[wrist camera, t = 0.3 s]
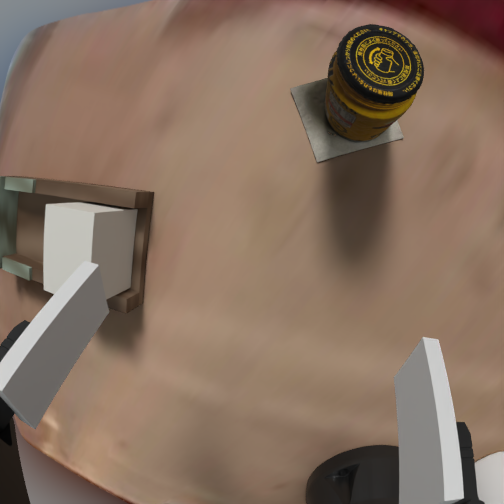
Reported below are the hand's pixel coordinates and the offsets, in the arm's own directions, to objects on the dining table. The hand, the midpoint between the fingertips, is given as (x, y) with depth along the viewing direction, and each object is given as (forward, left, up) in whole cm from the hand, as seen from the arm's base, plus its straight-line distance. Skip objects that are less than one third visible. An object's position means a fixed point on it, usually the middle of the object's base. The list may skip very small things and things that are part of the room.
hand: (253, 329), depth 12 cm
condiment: (+14, -3, -18) cm, 23 cm away
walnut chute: (-2, +25, -18) cm, 30 cm away
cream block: (-2, +18, -16) cm, 24 cm away
